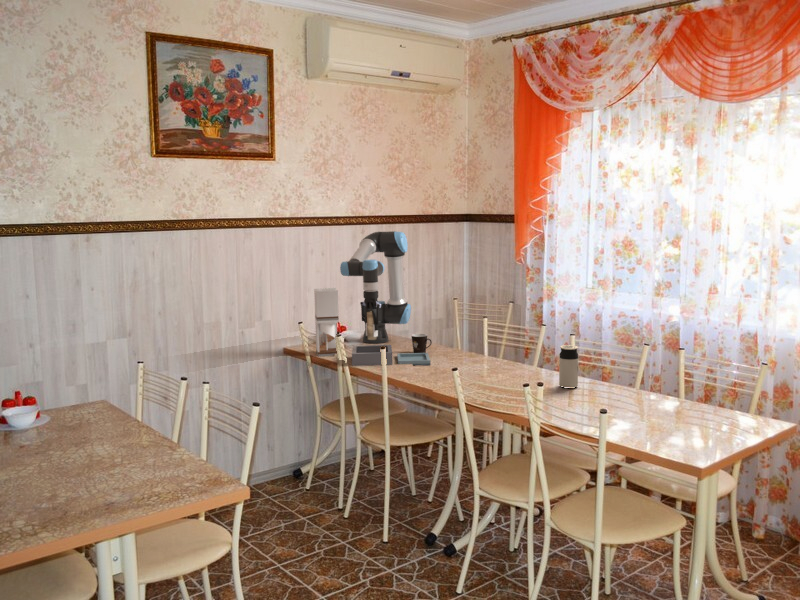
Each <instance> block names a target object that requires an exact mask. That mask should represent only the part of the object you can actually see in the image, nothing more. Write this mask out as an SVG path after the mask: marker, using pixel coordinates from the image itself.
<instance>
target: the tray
mask: <svg viewBox="0 0 800 600" xmlns="http://www.w3.org/2000/svg"><path fill="white" fill-rule="evenodd" d="M396 355H397V356H396V359H397V364H398V365H412V366H413V367H414V366H415V365H423V366H431V359H430V356H429V353H428V352H426V353H414V352H411V353H410V352H408V353H406V352H405V353H397V354H396ZM415 367H416V366H415Z"/></svg>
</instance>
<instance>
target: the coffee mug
mask: <svg viewBox="0 0 800 600" xmlns="http://www.w3.org/2000/svg"><path fill="white" fill-rule="evenodd" d="M427 341H429V342H430V344H429V345H428V346H427V343H428V342H427ZM411 342H412V350H413V351H412V353H427V349H428V348H430V347H431V345H432V340H431V339H430V338H428V334H426V333H413V334H411Z"/></svg>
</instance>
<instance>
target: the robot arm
mask: <svg viewBox="0 0 800 600" xmlns="http://www.w3.org/2000/svg"><path fill="white" fill-rule="evenodd" d="M408 248H409V247H408V240H407V236H406V234H405V233H404V232H403V231H395V230H394V231H375V232H374V231H373V232H372V233H369V234H368V235H365V237H364V238H362V239H361V241H359V246H358V248H357V250H356V251H355V252H354V254H353V255H352V256H351V258H350V259H349V260H347V261H342V262H341V263H340V266H339V270H340V274H341V275H342V276H345V277H362V282H363V284H362V285H363V286H362V287H363V291H362V292H363V295H362V296H363V297H362V298H363V299H364V300H363V301H361V302H360V308H361V309H360V310H361V312H360V313H361V321H362V322H364V332H363V335H362V342H363V343H366V344H384V343H387V342H389V335H388V332H387V329H386V324H387V325H391V324H392V325H406V324H408V323H409V321H410V317H411V313H412V305H411V304H410V303H408V299H406V298H405V284H404V282H405V280H404V265H403V258H404V257H405V255H406V254H405V253H407V252H408ZM375 253H383V254H384V257H385V258H386V260H387V262H386V263H387V275H388V277H387V279H388V293H389V299H388V300H387V302H385V301H384V300H378V299H379V291H378V290H379V277H380V276H381V275H383V273H384V271H385V265H384V263H383V262H381V261H379V260H377V259H373V258H372V259H369V258H370V256H371V255H374V254H375ZM370 311H372V315H373V320H374V323H373V337H376V340H368V336H367V312H370Z"/></svg>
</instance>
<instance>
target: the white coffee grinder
mask: <svg viewBox="0 0 800 600" xmlns="http://www.w3.org/2000/svg"><path fill="white" fill-rule="evenodd" d="M336 289H337V288H336V287H330V288H329V287H328V288H327V287H326V288H325V287H324V288H314V289H313V291H314V319H315V320H314V323H315V349H316V350H315V351H316V356H317V357H331V356H332V357H333V356H335V355H337V351H336V344H335V336H336V334H337V335H338V329H337V328H338V327H337V325H338V323H339V290H338V289H337V290H336Z"/></svg>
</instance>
